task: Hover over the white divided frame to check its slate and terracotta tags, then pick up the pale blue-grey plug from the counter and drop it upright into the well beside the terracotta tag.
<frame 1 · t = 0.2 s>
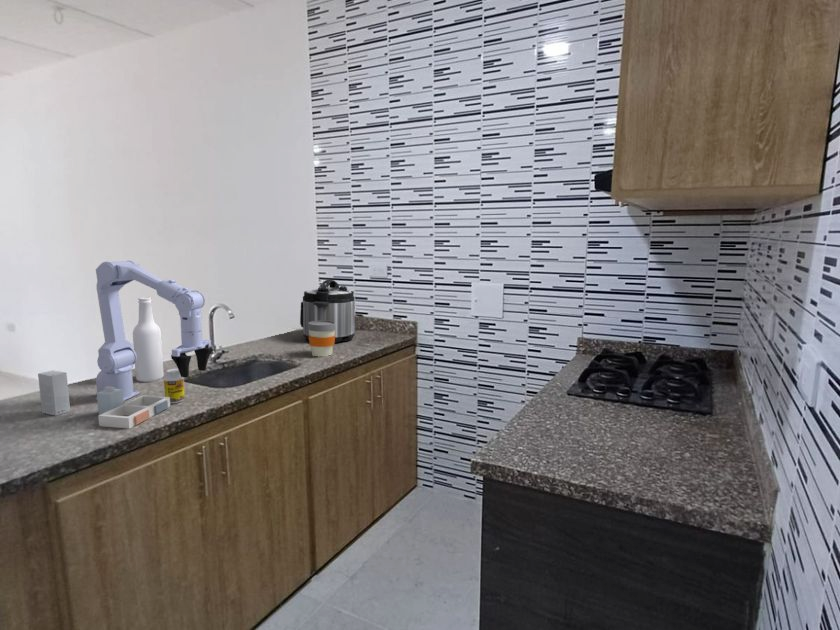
hand: (193, 373, 140), 10 cm above the countertop, tool pointing down, fingers open, 7 cm apart
plug: (111, 413, 132), on the countertop
pressure cooker: (327, 339, 240), on the countertop
supplement bottle: (175, 401, 144), on the countertop
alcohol: (150, 379, 165), on the countertop
white divided frame: (136, 415, 131), on the countertop
reusable coffee cup: (322, 355, 207), on the countertop
skincare box: (56, 412, 132), on the countertop
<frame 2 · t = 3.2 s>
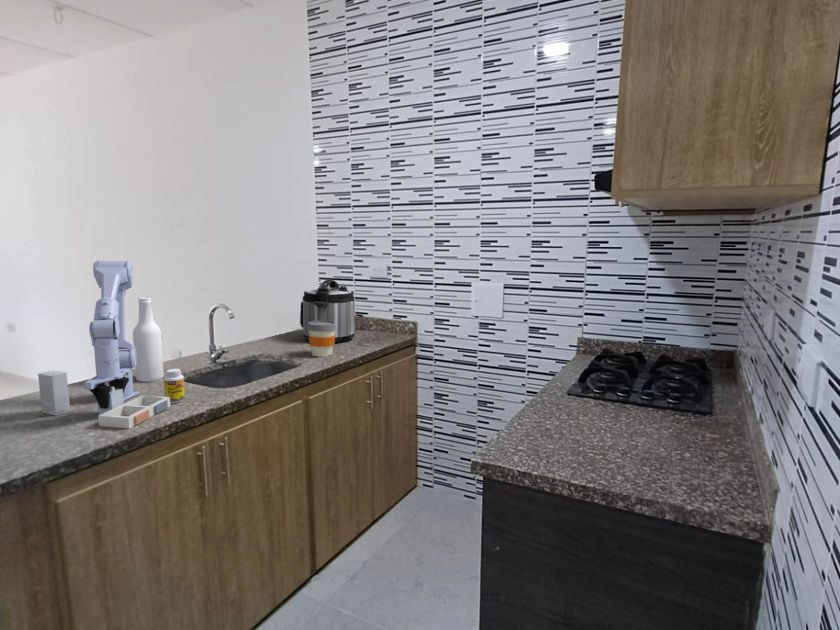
hand: (111, 405, 132), 3 cm above the countertop, tool pointing down, fingers closed on plug, 4 cm apart
plug: (111, 413, 132), on the countertop, touching gripper
everything else where it was.
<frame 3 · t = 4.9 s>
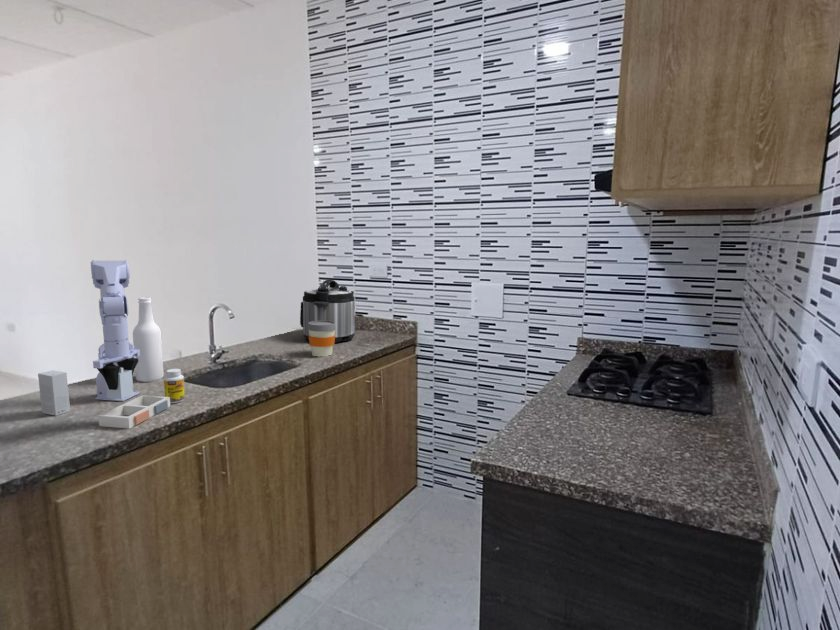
hand: (120, 386, 127), 10 cm above the countertop, tool pointing down, fingers closed on plug, 4 cm apart
plug: (120, 395, 127), point 7 cm above the countertop, touching gripper
everything else where it was.
when the fingers open (4 cm above the countertop, at t = 6.6 s): plug drops 1 cm, resting in white divided frame.
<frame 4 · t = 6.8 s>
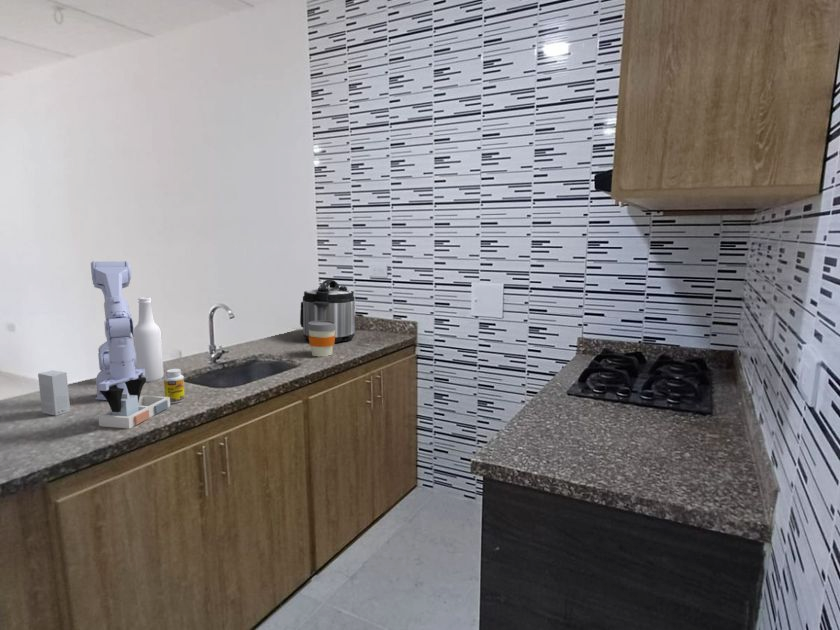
hand: (125, 407, 127), 4 cm above the countertop, tool pointing down, fingers open, 6 cm apart
plug: (126, 421, 127), resting in white divided frame
everything else where it was.
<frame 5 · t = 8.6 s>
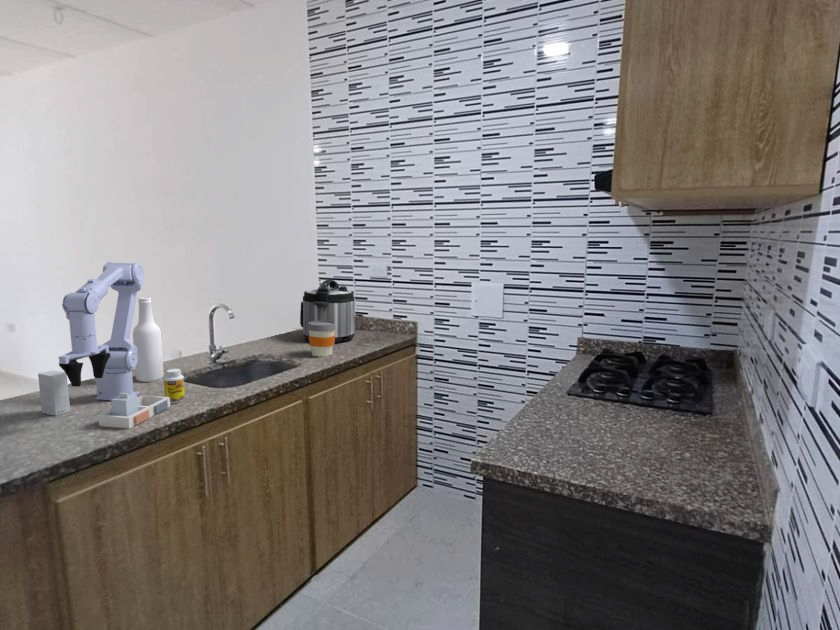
hand: (87, 381, 128), 10 cm above the countertop, tool pointing down, fingers open, 7 cm apart
nothing on the countertop moved.
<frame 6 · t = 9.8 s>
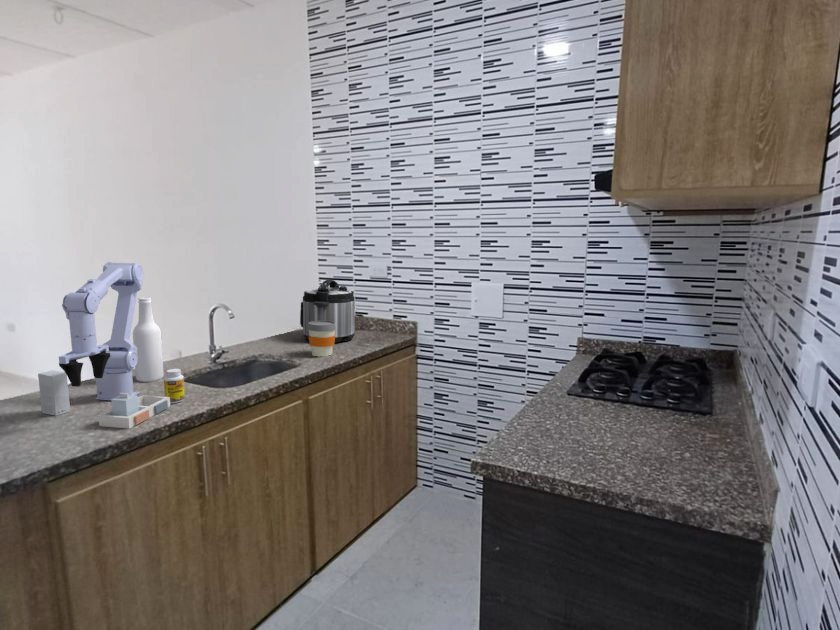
hand: (87, 381, 128), 10 cm above the countertop, tool pointing down, fingers open, 7 cm apart
nothing on the countertop moved.
at the end: plug 0.1 cm from the target spot on the white divided frame, point 0.0 cm above the white divided frame's base; plug tilted 0°; the gripper is holding nothing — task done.
